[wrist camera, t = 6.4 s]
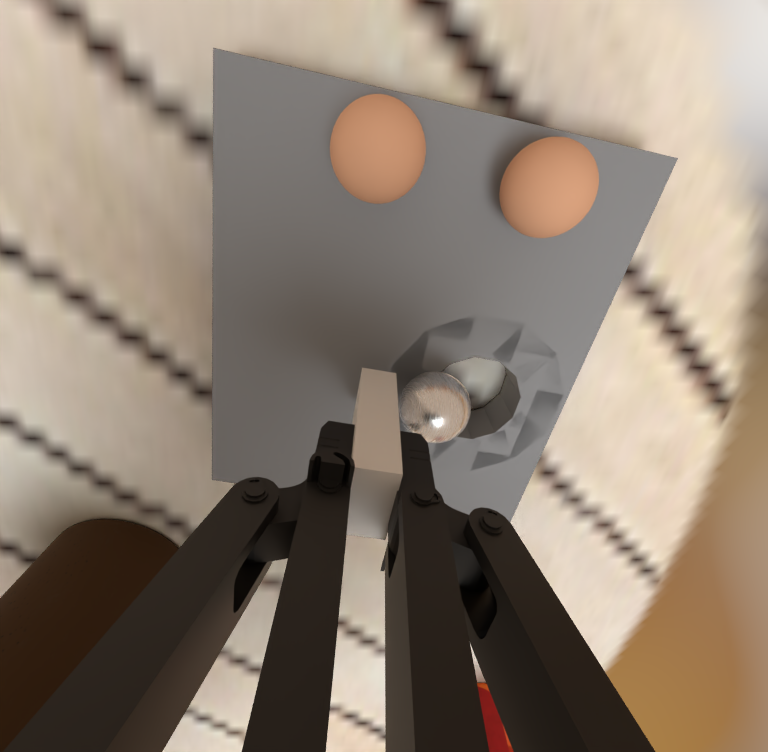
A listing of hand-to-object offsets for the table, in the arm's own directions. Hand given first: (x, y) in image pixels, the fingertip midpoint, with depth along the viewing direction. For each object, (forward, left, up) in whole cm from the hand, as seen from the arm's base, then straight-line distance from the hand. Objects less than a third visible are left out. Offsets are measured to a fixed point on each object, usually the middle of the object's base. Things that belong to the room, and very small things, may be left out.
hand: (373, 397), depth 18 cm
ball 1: (-2, +9, 0) cm, 10 cm away
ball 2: (+3, 0, 0) cm, 3 cm away
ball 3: (+4, +9, 0) cm, 10 cm away
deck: (+1, +2, -4) cm, 5 cm away
